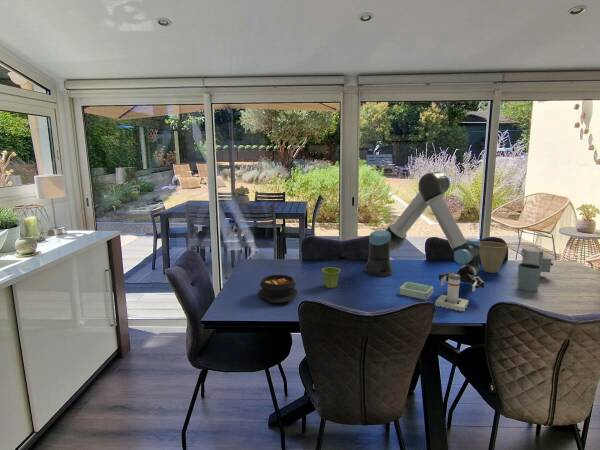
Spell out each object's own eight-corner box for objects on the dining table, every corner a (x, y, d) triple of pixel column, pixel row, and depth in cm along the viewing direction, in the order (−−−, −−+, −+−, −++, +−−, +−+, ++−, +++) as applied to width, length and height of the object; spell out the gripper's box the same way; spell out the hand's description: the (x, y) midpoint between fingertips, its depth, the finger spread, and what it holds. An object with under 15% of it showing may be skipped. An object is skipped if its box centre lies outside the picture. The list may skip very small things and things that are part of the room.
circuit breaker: (552, 279, 211) (555, 252, 208) (523, 277, 214) (526, 251, 211) (546, 275, 218) (550, 249, 216) (518, 273, 221) (521, 247, 218)
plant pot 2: (506, 276, 216) (509, 248, 213) (477, 273, 221) (480, 246, 218) (503, 268, 229) (505, 242, 226) (475, 266, 234) (478, 240, 231)
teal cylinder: (530, 293, 190) (533, 269, 188) (511, 286, 199) (513, 264, 197) (543, 290, 195) (546, 266, 193) (523, 283, 204) (526, 261, 201)
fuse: (444, 305, 175) (447, 275, 172) (447, 301, 179) (449, 272, 176) (456, 308, 172) (458, 277, 170) (459, 304, 176) (461, 274, 174)
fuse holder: (435, 305, 175) (435, 301, 175) (441, 298, 183) (441, 294, 183) (463, 311, 168) (463, 307, 168) (468, 304, 176) (468, 300, 176)
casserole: (301, 305, 175) (301, 287, 174) (260, 307, 172) (259, 289, 171) (293, 286, 199) (293, 270, 198) (257, 288, 196) (256, 272, 195)
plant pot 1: (341, 284, 202) (342, 268, 200) (337, 290, 193) (338, 273, 192) (324, 282, 205) (324, 266, 203) (319, 288, 196) (319, 271, 195)
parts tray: (398, 293, 189) (399, 287, 188) (406, 287, 198) (406, 281, 197) (426, 299, 182) (426, 293, 181) (433, 292, 191) (433, 286, 190)
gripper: (493, 285, 188) (486, 299, 171) (440, 276, 202) (428, 288, 185) (495, 270, 187) (488, 283, 170) (441, 262, 200) (429, 272, 183)
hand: (457, 285), depth 177 cm, fingers open, 13 cm apart
